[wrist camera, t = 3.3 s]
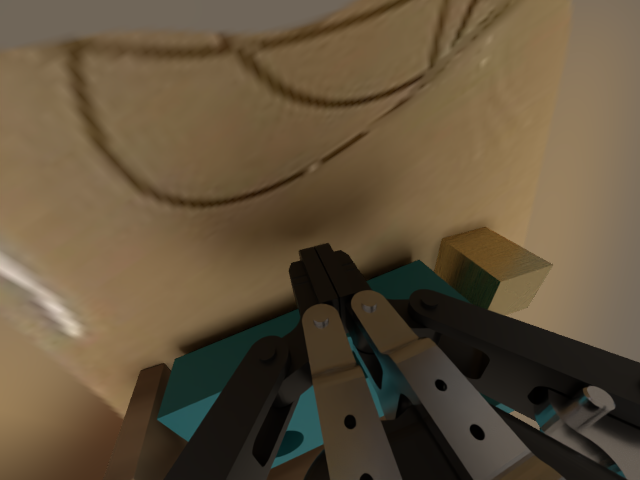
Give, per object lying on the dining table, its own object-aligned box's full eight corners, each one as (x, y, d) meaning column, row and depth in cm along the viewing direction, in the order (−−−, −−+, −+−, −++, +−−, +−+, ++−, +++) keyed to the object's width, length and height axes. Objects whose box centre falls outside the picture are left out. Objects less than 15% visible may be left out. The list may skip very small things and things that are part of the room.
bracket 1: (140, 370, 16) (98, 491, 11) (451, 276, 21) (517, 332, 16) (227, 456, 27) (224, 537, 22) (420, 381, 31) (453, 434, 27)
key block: (441, 238, 18) (500, 281, 14) (485, 226, 19) (553, 264, 15) (432, 277, 20) (481, 324, 16) (471, 265, 21) (527, 307, 17)
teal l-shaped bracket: (407, 250, 18) (557, 375, 9) (415, 335, 24) (515, 465, 15) (180, 341, 17) (101, 599, 8) (244, 410, 22) (242, 609, 13)
